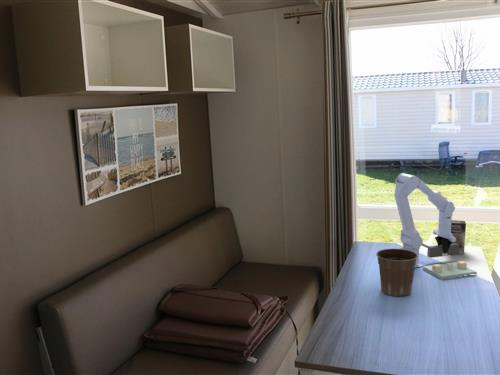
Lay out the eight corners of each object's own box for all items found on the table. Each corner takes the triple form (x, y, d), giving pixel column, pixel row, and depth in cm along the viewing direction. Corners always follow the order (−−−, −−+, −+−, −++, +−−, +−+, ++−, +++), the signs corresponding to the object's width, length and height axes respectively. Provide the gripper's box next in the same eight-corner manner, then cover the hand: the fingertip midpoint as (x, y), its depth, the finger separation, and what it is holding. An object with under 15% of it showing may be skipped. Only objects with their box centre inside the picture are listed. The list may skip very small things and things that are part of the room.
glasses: (430, 257, 247) (430, 247, 246) (417, 251, 257) (418, 241, 256) (458, 254, 251) (459, 244, 250) (445, 248, 261) (445, 238, 260)
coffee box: (445, 253, 262) (446, 222, 259) (444, 249, 268) (445, 219, 266) (464, 254, 260) (466, 223, 257) (463, 250, 266) (464, 220, 263)
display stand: (441, 279, 227) (442, 271, 226) (422, 269, 240) (423, 261, 239) (476, 274, 232) (476, 266, 231) (455, 265, 245) (456, 257, 244)
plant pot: (371, 295, 212) (371, 257, 209) (380, 282, 226) (381, 246, 223) (411, 301, 204) (413, 262, 201) (419, 287, 218) (420, 251, 215)
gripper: (461, 227, 242) (460, 255, 244) (442, 220, 256) (441, 247, 258) (449, 229, 240) (447, 257, 242) (430, 221, 254) (428, 248, 256)
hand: (443, 252), depth 250 cm, fingers closed on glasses, 2 cm apart
